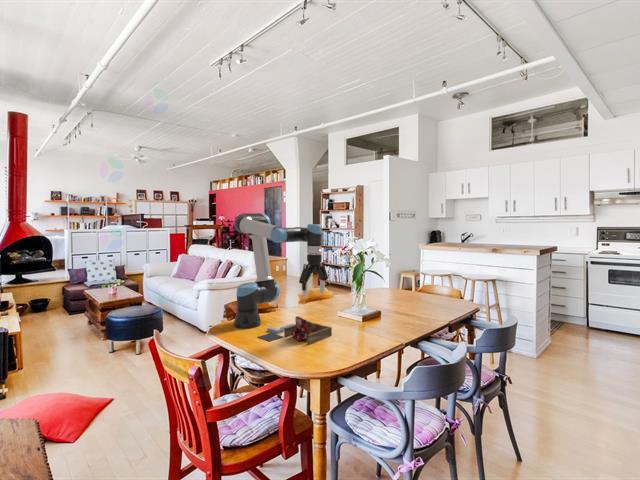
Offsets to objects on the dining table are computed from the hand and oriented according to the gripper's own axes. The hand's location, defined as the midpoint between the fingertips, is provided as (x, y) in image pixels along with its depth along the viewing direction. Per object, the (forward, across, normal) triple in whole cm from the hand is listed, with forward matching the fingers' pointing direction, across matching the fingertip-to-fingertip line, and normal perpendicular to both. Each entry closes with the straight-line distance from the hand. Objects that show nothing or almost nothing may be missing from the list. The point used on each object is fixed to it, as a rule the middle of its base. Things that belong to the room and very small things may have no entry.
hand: (313, 294), depth 188 cm
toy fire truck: (+22, -9, 0) cm, 23 cm away
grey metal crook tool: (+22, -3, +14) cm, 26 cm away
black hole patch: (+21, -18, +14) cm, 31 cm away
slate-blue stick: (+22, -11, +19) cm, 31 cm away
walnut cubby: (+21, -5, 0) cm, 22 cm away
